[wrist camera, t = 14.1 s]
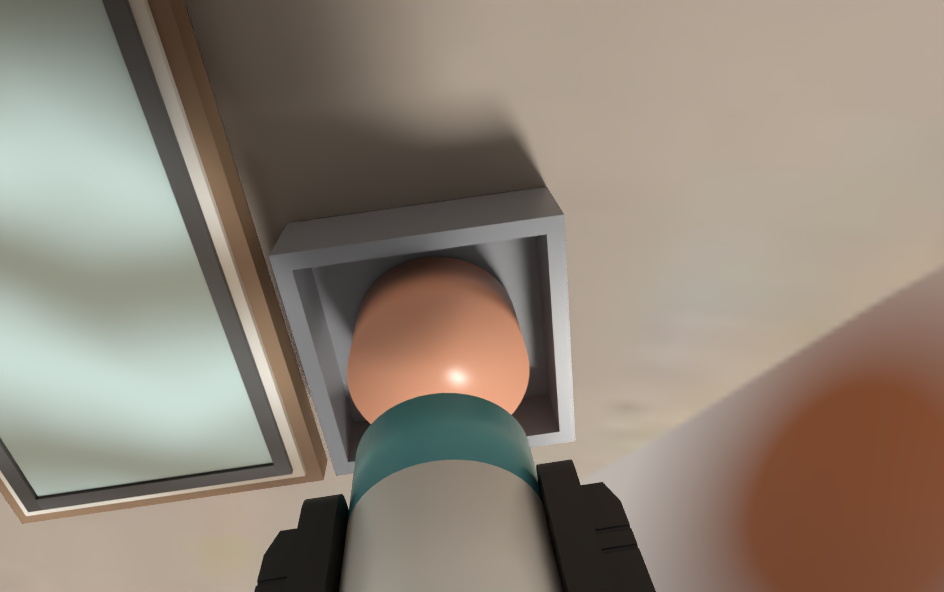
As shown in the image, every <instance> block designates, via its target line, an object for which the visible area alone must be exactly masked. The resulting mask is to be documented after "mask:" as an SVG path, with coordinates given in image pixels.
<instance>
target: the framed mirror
mask: <svg viewBox="0 0 944 592" xmlns="http://www.w3.org/2000/svg"><path fill="white" fill-rule="evenodd" d="M326 465H327V458H326V455H325V452H324V448H323V445H322V442H321V439H320V436H319V432H318V429H317V426H316V423H315V419H314V416H313V413H312V410H311V407H310V403H309V400H308V397H307V394H306V391H305V387H304V384H303V381H302V378H301V375H300V371H299V368H298V365H297V362H296V359H295V355H294V352H293V349H292V346H291V342H290V339H289V336H288V333H287V330H286V326H285V323H284V320H283V317H282V314H281V310H280V307H279V304H278V301H277V298H276V294H275V291H274V288H273V285H272V282H271V278H270V275H269V272H268V269H267V265H266V262H265V259H264V256H263V253H262V249H261V246H260V243H259V240H258V237H257V233H256V230H255V227H254V224H253V221H252V217H251V214H250V211H249V208H248V205H247V201H246V198H245V195H244V192H243V188H242V185H241V182H240V179H239V176H238V172H237V169H236V166H235V163H234V160H233V156H232V153H231V150H230V147H229V144H228V140H227V137H226V134H225V131H224V128H223V124H222V121H221V118H220V115H219V111H218V108H217V105H216V102H215V99H214V95H213V92H212V89H211V86H210V83H209V79H208V76H207V73H206V70H205V67H204V63H203V60H202V57H201V54H200V51H199V47H198V44H197V41H196V38H195V34H194V31H193V28H192V25H191V22H190V18H189V15H188V12H187V9H186V6H185V2H184V0H0V492H1V493H2V495H3V496H4V498H5V499H6V501H7V502H8V504H9V505H10V506H11V508H12V509H13V511H14V512H15V514H16V515H17V517H18V518H19V520H20V521H21V523H22V524H23V523H30V522H37V521H44V520H51V519H58V518H64V517H71V516H78V515H85V514H92V513H99V512H106V511H113V510H120V509H127V508H134V507H140V506H147V505H154V504H161V503H168V502H175V501H182V500H189V499H196V498H203V497H209V496H216V495H223V494H230V493H237V492H244V491H251V490H258V489H265V488H272V487H278V486H285V485H292V484H299V483H306V482H313V481H320V480H324V475H325V470H326Z"/></svg>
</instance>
